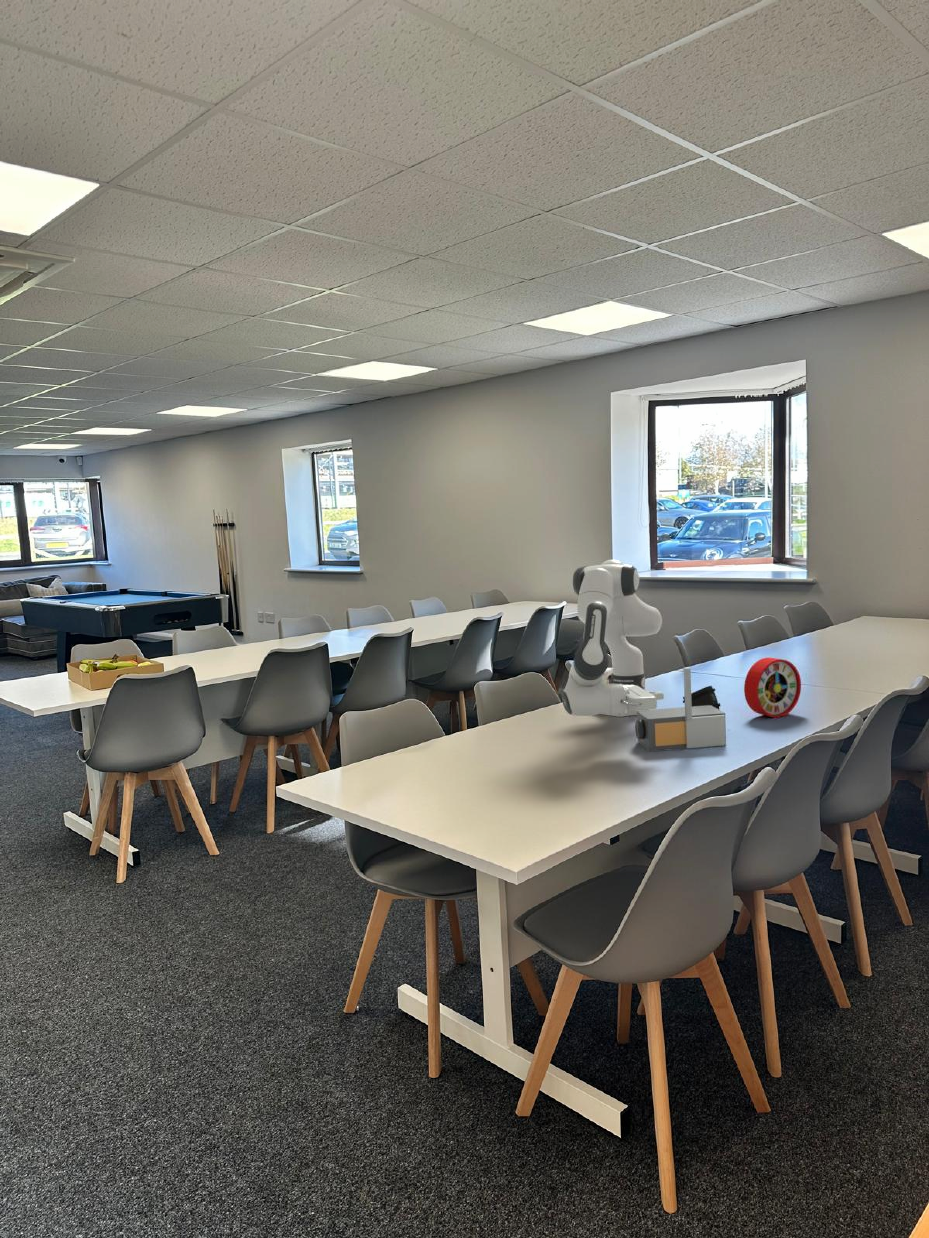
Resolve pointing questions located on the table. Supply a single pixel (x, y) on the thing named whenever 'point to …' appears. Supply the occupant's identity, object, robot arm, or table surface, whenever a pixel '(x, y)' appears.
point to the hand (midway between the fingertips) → (662, 695)
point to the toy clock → (772, 687)
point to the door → (701, 722)
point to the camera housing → (667, 726)
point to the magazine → (704, 697)
